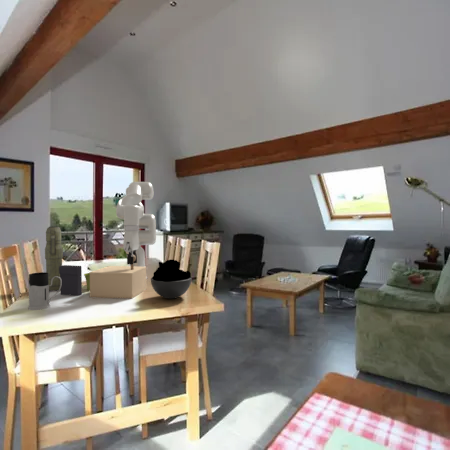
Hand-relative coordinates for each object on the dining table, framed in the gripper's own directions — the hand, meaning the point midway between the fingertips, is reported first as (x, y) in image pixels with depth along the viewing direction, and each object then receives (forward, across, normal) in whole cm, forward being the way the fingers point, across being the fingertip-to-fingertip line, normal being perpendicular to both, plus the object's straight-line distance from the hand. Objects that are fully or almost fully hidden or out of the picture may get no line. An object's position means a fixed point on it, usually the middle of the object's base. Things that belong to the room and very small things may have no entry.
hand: (132, 263), depth 167 cm
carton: (+16, 0, -7) cm, 17 cm away
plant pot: (+16, -8, -26) cm, 32 cm away
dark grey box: (+16, +5, -31) cm, 35 cm away
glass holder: (+16, +28, -29) cm, 43 cm away
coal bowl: (+16, +7, +23) cm, 29 cm away
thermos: (+16, -5, -47) cm, 50 cm away
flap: (+4, 0, -7) cm, 8 cm away
